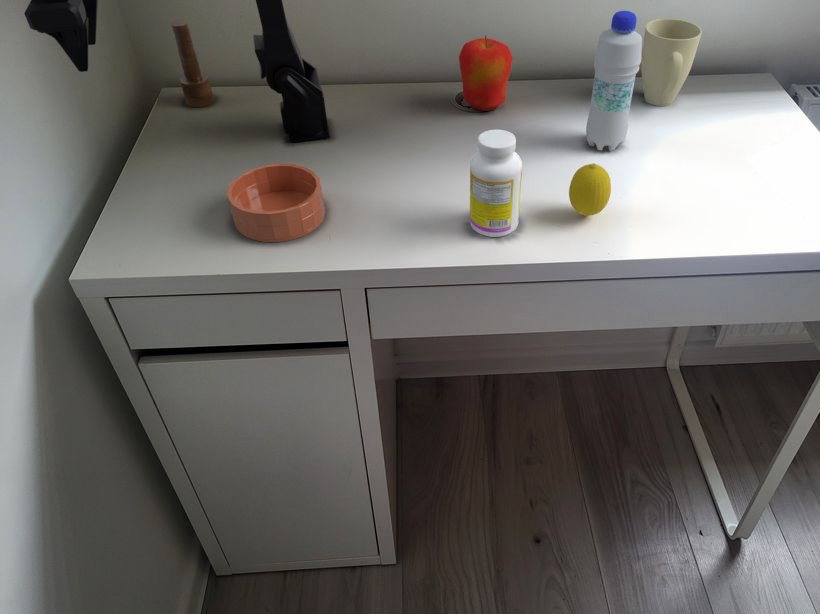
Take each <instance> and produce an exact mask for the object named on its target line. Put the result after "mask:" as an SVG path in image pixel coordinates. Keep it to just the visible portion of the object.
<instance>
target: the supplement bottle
mask: <svg viewBox="0 0 820 614" xmlns="http://www.w3.org/2000/svg"><path fill="white" fill-rule="evenodd" d="M516 140H517V138H516V136H515V135H514V134H513V133H512V132H510V131H508V130H504V129H489V130H485V131H483V132H481V133H480V134H479V135H478V137H477V149H478V151H477V152H476V153H474V154H473V155H472V157H471V160H470V162H469V223H470V226H471V228H472V229H473V231H475V232H476V233H477V234H480V235H482V236H486V237H491V238H499V237H500V238H501V237H505V236H507V235H510V234H511V233H513V232H514V231H515V230H516V229H517V228H518V226H519V221H520V208H521V207H520V206H521V191H522V174H523V160H522V158H521V156H520V155H519V154H518V153H517V152H516V151H515V150H516V147H517V146H516V145H517V141H516Z"/></svg>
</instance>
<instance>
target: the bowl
mask: <svg viewBox="0 0 820 614" xmlns="http://www.w3.org/2000/svg"><path fill="white" fill-rule="evenodd" d="M226 197H227V201H228V206H229V209H230V213H231V216H232V219H233V224H234V226H235V228H236V229H237V231H238V232H239V233H240V234H241V235H242V236H244V237H245V238H248V239H250V240H253V241H257V242H262V243H283V242H289V241H294V240H297V239H298V238H302V237H305V236H306V235H309V234H310V233H312V232H313V231H314V230H316V229H317V228H318V227H319V226H320V225H321V224H322V223H323V221H324V219H325V215H326V207H325V202H324V194H323V189H322V182H321V178H320V177H319V176H318V175H317V174H316V173H315V171H313V170H311V169H309V168H308V167H305V166H302V165H298V164H294V163H293V164H292V163H273V164H272V163H271V164H265V165H260V166H257V167H254V168H250V169H249V170H247V171H245V172H243V173H241V174H239V175H237V177H235V179H233V180H232V181H231V182H230V184H229V186H228V188H227V189H226Z"/></svg>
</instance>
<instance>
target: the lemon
mask: <svg viewBox="0 0 820 614" xmlns="http://www.w3.org/2000/svg"><path fill="white" fill-rule="evenodd" d="M611 193H612V183H611V177H610V174H609V173H608V171H607V170H606V169H605V168H604V167H602V166H601V165H599V164H596V163H588V164H585V165H583V166H580V167H579V168H578V169H577V170H576V171H575V172H574V174H573V176H572V178H571V181H570V184H569V189H568V198H569V202H570V205H571V207H572V208H573V210H574V211H576V212H577V213H578V214H580V215H581V216H582V215H583V216H584V217H589V216H595V215H598V214H599V213H600V212H602V211H603V210H604V209H605V208H606V206H607V205H608V204H609V200H610V197H611Z"/></svg>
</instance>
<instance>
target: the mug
mask: <svg viewBox="0 0 820 614" xmlns="http://www.w3.org/2000/svg"><path fill="white" fill-rule="evenodd" d="M702 33H703V30H702V28H701V27H700V26H699V25H697V24H696V23H694V22H691V21H687V20H685V19H684V20H683V19H678V18H658V19H653V20H650V21H648V22H647V23H646V24H645V26H644V35H643V41H642V50H641V62H640V64H641V65H640V67H641V80H642V81H641V82H642V87H643V89H642V90H643V96H644V100H645V102H646V103H648V104H650V105H652V106H656V107H666V106H670V105H672V104H673V103H674V101H675V99H676V97H677V96H678V94H679V92H680V91H681V89H682V87H683V85H684V83H685V82H686V80H687V78H688V76H689V74H690V71H691V69H692V66H693V63H694V60H695V57H696V54H697V50H698V46H699V44H700V40H701V38H702Z"/></svg>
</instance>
